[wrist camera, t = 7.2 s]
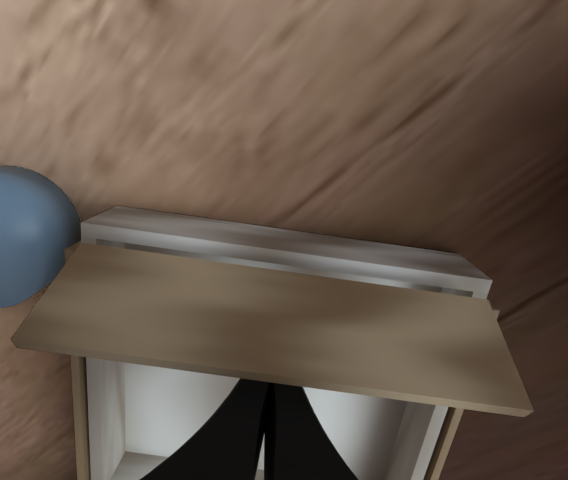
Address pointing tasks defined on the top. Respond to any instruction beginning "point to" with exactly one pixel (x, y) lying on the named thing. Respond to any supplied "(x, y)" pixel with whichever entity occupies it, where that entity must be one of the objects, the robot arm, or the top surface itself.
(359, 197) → the top surface
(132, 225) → the carton
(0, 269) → the blue pebble
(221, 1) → the top surface
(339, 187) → the top surface
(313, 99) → the top surface
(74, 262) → the flap
